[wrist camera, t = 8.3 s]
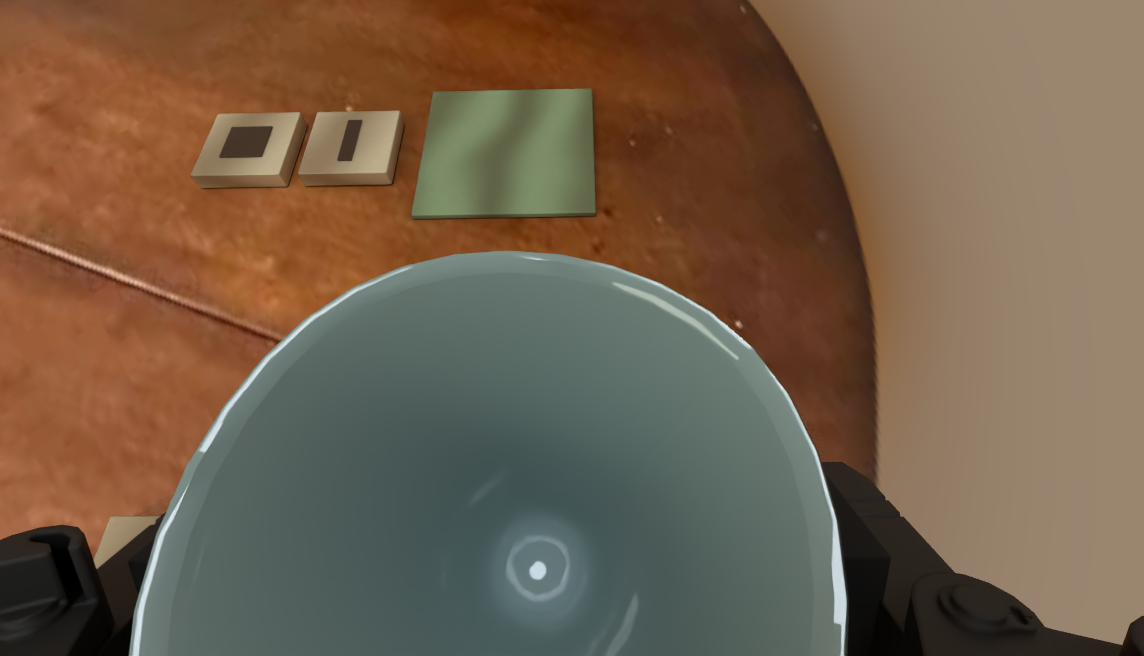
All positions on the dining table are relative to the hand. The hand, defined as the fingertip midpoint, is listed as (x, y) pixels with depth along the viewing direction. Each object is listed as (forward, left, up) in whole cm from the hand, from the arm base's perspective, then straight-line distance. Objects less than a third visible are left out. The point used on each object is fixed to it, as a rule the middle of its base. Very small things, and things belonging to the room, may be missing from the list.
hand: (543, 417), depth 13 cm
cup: (0, +3, -4) cm, 5 cm away
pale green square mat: (+9, -20, -10) cm, 24 cm away
